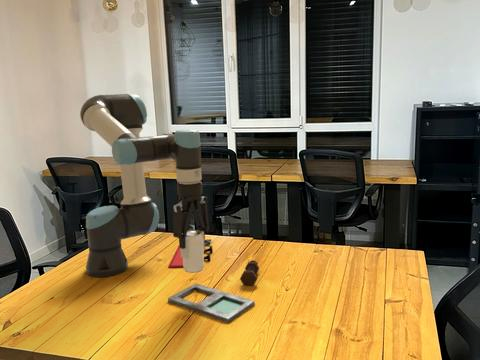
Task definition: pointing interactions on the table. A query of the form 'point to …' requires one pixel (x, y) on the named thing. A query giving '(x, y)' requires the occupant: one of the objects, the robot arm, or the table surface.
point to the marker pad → (225, 306)
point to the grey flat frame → (211, 302)
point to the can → (194, 252)
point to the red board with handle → (178, 260)
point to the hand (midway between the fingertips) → (193, 253)
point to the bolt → (250, 274)
